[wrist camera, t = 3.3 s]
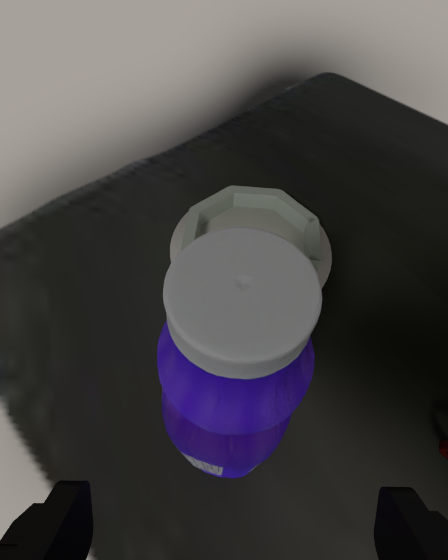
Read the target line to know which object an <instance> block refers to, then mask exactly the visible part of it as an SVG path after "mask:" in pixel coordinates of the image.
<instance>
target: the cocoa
mask: <svg viewBox="0 0 448 560" xmlns="http://www.w3.org/2000/svg"><path fill="white" fill-rule="evenodd" d="M439 452H440V453H441V454H442V455H443V456H444V457H445V458H447V459H448V441H440V443H439Z"/></svg>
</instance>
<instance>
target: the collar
mask: <svg viewBox="0 0 448 560" xmlns="http://www.w3.org/2000/svg"><path fill="white" fill-rule="evenodd" d="M229 227H251V228H257V229H262V230H266V231H270V232H272V233H275V234H277V235H279V236H281V237H283V238H285V239H287V240H288V241H290V242H291V243H292V244H294V245H295V246H296V247H297V248H299V249H300V250H301V251H302V252H303V253H304V254H305V255H306V257H307V258H308V259H309V260H310V262H311V263H312V265H313V267H314V268H315V270H316V272H317V275H318V278H319V280H320V284H321V290H322V288H323V286H324V284H325V282H326V280H327V278H328V276H329V273H330V269H331V263H332V252H331V247H330V243H329V240H328V237H327V235H326V233H325V231H324V229H323V228H322V226H321V225H320V224H319V219H318V217H316V216H315V215H314V214H312V213H311V212H310V211H309V210H307V209H306V208H305V207H303V206H302V205H301V204H299V203H298V202H297V201H295V200H294V199H293V198H291V197H290V196H289V195H288V194H286V193H285V192H284V191H282V190H280V189H270V188H257V187H244V186H229V187H227V188H225V189H223V190H221V191H220V192H218V193H216V194H214V195H212V196H211V197H209V198H207V199H205V200H203V201H202V202H200V203H198V204H196V205H194V206H192V207H191V209H189V212H188V213H187V214H186V215H185V216H184V217H183V218H182V219H181V221H180V222H179V223H178V225H177V227H176V229H175V231H174V233H173V236H172V239H171V245H170V258H171V263H172V261H173V260H174V259H175V257H176V256H177V254H178V253H179V252H180V251H181V250H182V249H183V248H184V247H185V246H186V245H188V244H189V243H190V242H192V241H193V240H195V239H196V238H198V237H200V236H202V235H204V234H206V233H209V232H212V231H215V230H218V229H224V228H229Z"/></svg>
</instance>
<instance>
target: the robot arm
mask: <svg viewBox="0 0 448 560" xmlns="http://www.w3.org/2000/svg"><path fill="white" fill-rule="evenodd" d="M92 536H93V515H92V503H91V492H90V484H89V482H88V481H59V482H57V483H56V485H55V486H54V488H53V489H52V491H51V492H50V494H49V496H48V497H47V499H46V500H45V502H44V503H33V504H32V505H31V506H30V507H29V508H28V509H27V510H26V511H25V512H23V513H22V514H21V515H20V516H19V517H18V518H17V519H16V520H14V521H13V523H12V524H11V525H10V527H9V529H8V530H7V531H6V533H5V534H4V536H3V537H2V539H1V540H0V560H86V558H87V555H88V553H89V550H90V546H91V542H92ZM374 541H375V547H376V551H377V555H378V558H379V560H448V520H447V519H446V518H445V517H444V516H443V515H441V514H440V513H439V512H438V511H429V510H428V509H427V507H426V506H425V504H424V503H423V501H422V500H421V498H420V497H419V496H418V494H417V493H416V491H415V490H414V489H412V488H410V487H381V489H380V491H379V497H378V504H377V512H376V519H375V526H374Z"/></svg>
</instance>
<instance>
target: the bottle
mask: <svg viewBox="0 0 448 560" xmlns="http://www.w3.org/2000/svg"><path fill="white" fill-rule="evenodd" d="M163 299H164V306H165V310H166V314H167V321H166V322H165V324H164V326H163V329H162V332H161V335H160V337H159V341H158V350H157V365H158V372H159V379H160V383H161V385H162V387H163V390H162V412H163V420H164V424H165V427H166V430H167V433H168V435H169V436H170V438H171V440H172V442H173V443H174V444H175V446H176V447H177V448H178V450H179V451H180V452H181V453H182V454H183V455H184V456H185V457H186V458H187V459H188V460H189V461H190V462H191V463H192V464H193V465H194V466H195V467H197V468H200V469H201V470H203V471H204V472H206V473H209V474H212V475H215V476H218V477H228V478H238V477H242V476H244V475H246V474H248V473H250V472H251V471H252V470H253V469H254V468H255V467H256V466H257V465H259V464H260V463H261V462H263V461H264V460H266V459H267V458H268V457H269V456H270V455H271V454H272V452H273V451H274V450H275V449H276V447H277V446H278V444H279V442H280V440H281V438H282V436H283V434H284V432H285V430H286V428H287V426H288V423H289V421H290V418H291V415H292V412H293V411H294V410H295V409H296V407H297V406H298V405H299V404H300V402H301V400H302V399H303V397H304V395H305V393H306V391H307V389H308V387H309V384H310V382H311V379H312V375H313V370H314V358H315V355H314V349H313V346H312V341H311V337H310V335H311V333H312V331H313V329H314V327H315V325H316V323H317V321H318V318H319V315H320V312H321V306H322V290H321V284H320V280H319V278H318V275H317V272H316V270H315V268H314V267H313V265H312V263H311V262H310V260H309V259H308V258H307V257H306V255H305V254H304V253H303V252H302V251H301V250H300V249H299V248H297V247H296V246H295V245H294V244H292V243H291V242H290V241H288V240H287V239H285V238H283V237H281V236H279V235H277V234H275V233H272V232H270V231H266V230H262V229H257V228H251V227H229V228H224V229H218V230H215V231H212V232H209V233H206V234H204V235H202V236H200V237H198V238H196V239H195V240H193V241H192V242H190V243H189V244H188V245H186V246H185V247H184V248H183V249H182V250H181V251H180V252H179V253H178V254H177V256H176V257H175V259H174V260H173V261H172V263H171V265H170V267H169V269H168V271H167V273H166V277H165V281H164V289H163Z"/></svg>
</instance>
